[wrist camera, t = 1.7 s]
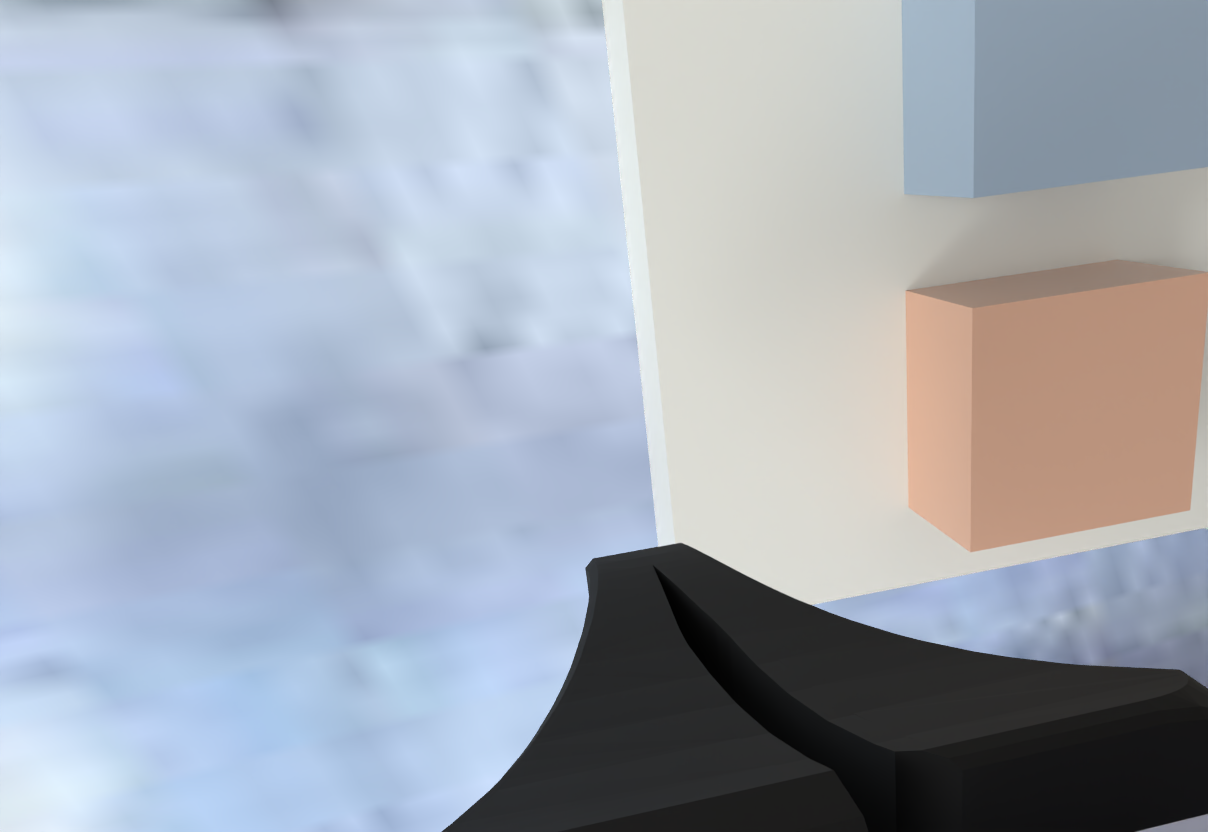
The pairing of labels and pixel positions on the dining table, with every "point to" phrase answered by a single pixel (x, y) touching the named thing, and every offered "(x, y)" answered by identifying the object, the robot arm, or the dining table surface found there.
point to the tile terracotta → (1053, 399)
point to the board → (823, 286)
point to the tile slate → (1050, 92)
